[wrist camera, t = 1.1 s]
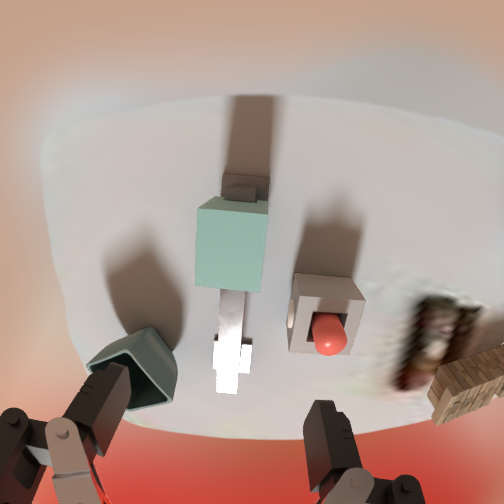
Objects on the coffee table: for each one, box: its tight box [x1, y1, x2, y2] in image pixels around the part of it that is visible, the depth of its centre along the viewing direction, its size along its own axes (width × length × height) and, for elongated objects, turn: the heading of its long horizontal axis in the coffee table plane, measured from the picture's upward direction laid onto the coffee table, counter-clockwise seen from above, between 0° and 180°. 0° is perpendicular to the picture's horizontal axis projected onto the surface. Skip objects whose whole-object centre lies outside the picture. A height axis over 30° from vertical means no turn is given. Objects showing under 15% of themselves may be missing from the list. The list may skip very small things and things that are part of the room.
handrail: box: [213, 174, 270, 394], centre depth 31 cm, size 5×26×6 cm, turn 175°
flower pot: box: [86, 327, 178, 411], centre depth 34 cm, size 9×9×9 cm
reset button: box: [310, 311, 347, 356], centre depth 28 cm, size 3×3×4 cm
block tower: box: [427, 344, 504, 425], centre depth 34 cm, size 8×8×29 cm
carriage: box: [195, 196, 268, 293], centre depth 24 cm, size 5×6×7 cm
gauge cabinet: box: [286, 273, 366, 355], centre depth 31 cm, size 7×7×6 cm
